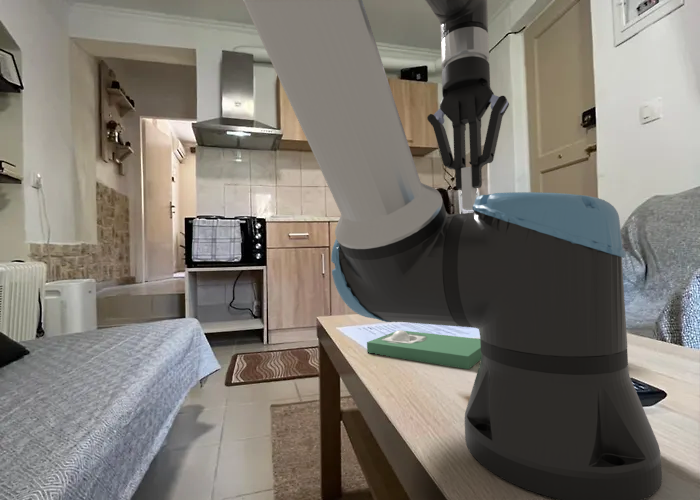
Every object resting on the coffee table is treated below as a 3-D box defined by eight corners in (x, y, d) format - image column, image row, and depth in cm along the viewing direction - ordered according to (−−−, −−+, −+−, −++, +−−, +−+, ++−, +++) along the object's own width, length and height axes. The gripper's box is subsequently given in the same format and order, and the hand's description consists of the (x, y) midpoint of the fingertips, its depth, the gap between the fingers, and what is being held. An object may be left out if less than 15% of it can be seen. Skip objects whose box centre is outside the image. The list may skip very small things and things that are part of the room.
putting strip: (468, 369, 56) (468, 356, 56) (367, 352, 68) (366, 342, 68) (491, 351, 66) (490, 340, 66) (399, 339, 77) (398, 330, 77)
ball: (408, 353, 69) (407, 342, 67) (390, 351, 70) (389, 340, 68) (411, 338, 72) (410, 327, 69) (393, 336, 73) (392, 325, 71)
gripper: (511, 64, 59) (517, 207, 58) (435, 87, 67) (438, 214, 66) (502, 41, 53) (507, 201, 52) (419, 69, 60) (422, 210, 59)
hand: (469, 208), depth 59 cm, fingers closed
